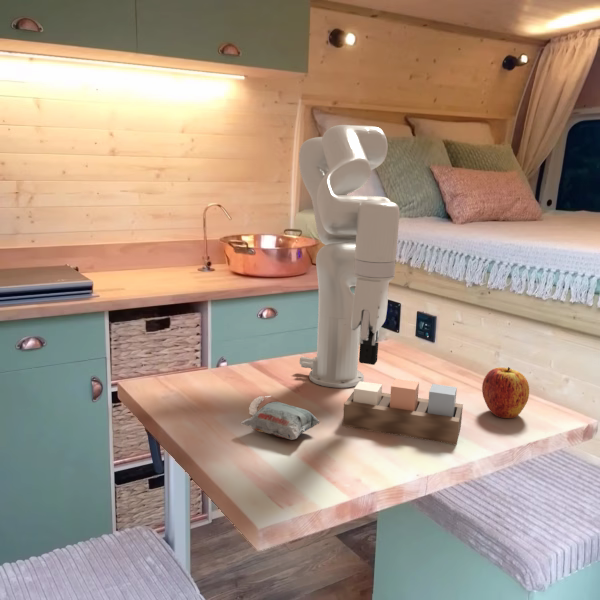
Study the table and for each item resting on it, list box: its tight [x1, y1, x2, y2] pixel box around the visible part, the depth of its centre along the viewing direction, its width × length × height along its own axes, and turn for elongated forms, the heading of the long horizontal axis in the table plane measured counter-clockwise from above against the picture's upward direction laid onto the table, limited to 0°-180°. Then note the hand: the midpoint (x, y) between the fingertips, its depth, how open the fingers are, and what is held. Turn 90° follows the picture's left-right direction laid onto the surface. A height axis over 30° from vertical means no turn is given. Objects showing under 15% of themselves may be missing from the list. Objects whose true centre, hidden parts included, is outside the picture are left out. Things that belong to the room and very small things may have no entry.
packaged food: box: [240, 401, 321, 441], centre depth 111 cm, size 9×12×5 cm
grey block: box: [428, 383, 458, 417], centre depth 114 cm, size 4×4×5 cm
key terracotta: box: [390, 378, 420, 411], centre depth 116 cm, size 4×4×5 cm
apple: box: [481, 367, 530, 419], centre depth 123 cm, size 9×9×10 cm
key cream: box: [353, 381, 383, 406], centre depth 118 cm, size 4×4×5 cm
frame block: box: [342, 390, 464, 446], centre depth 117 cm, size 21×9×4 cm, turn 71°
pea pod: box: [248, 395, 272, 416], centre depth 124 cm, size 15×4×2 cm, turn 172°
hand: (367, 362), depth 118 cm, fingers closed
